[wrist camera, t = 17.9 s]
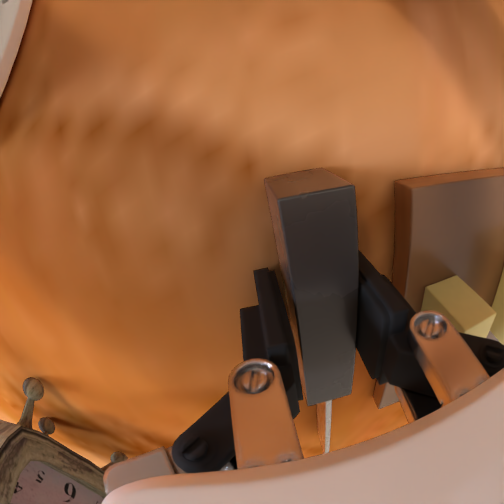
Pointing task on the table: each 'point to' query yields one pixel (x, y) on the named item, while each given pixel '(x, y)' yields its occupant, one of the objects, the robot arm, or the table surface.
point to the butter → (499, 312)
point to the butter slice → (459, 306)
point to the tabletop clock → (45, 462)
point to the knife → (319, 280)
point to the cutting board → (447, 239)
